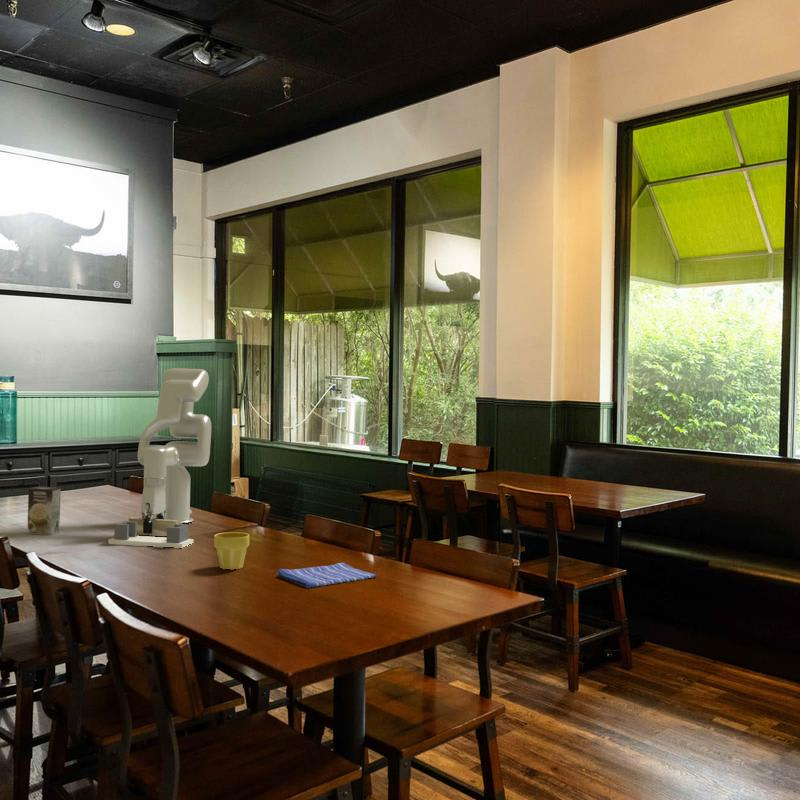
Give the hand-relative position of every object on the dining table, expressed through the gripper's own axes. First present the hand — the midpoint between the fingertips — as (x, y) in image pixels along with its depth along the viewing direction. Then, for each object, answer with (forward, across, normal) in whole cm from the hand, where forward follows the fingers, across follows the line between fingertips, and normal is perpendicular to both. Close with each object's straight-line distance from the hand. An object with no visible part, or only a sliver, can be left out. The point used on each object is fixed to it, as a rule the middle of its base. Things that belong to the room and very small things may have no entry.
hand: (153, 531), depth 286 cm
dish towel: (+2, +44, +74) cm, 86 cm away
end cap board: (+2, +14, +6) cm, 15 cm away
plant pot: (+2, +40, +44) cm, 59 cm away
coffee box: (+2, +7, -38) cm, 39 cm away
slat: (+2, 0, 0) cm, 2 cm away
